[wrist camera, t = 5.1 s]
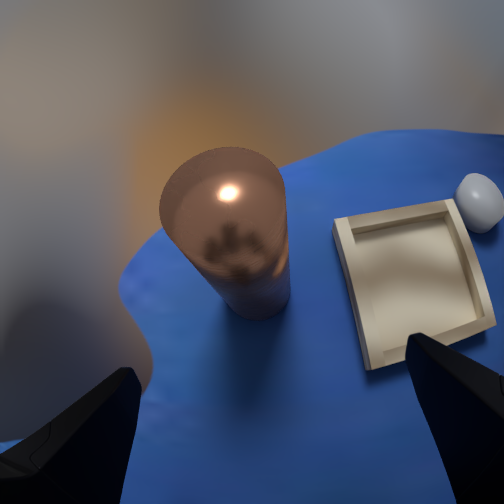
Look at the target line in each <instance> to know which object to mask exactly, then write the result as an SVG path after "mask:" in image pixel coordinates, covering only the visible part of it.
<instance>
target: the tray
mask: <svg viewBox="0 0 504 504" xmlns="http://www.w3.org/2000/svg"><path fill="white" fill-rule="evenodd" d="M332 233H333V236H334V240H335V243H336V247H337V250H338V254H339V258H340V261H341V265H342V269H343V273H344V277H345V280H346V284H347V288H348V292H349V297H350V301H351V305H352V309H353V313H354V318H355V322H356V327H357V331H358V336H359V341H360V345H361V350H362V355H363V360H364V365H365V370H373V369H376V368H380V367H383V366H387V365H390V364H394V363H397V362H400V361H403V360H405V351H406V346H407V340H408V336H409V335H410V334H414V333H418V332H421V333H423V334H425V335H427V336H429V337H431V338H433V339H435V340H436V341H438V342H440V343H442V344H444V345H446V346H447V345H449V344H452V343H455V342H457V341H460V340H462V339H465V338H467V337H470V336H472V335H474V334H477V333H479V332H481V331H484V330H486V329H488V328H490V327H493V326H495V325H497V324H496V320H495V316H494V312H493V308H492V304H491V301H490V297H489V294H488V290H487V287H486V283H485V280H484V277H483V274H482V271H481V268H480V265H479V262H478V259H477V256H476V254H475V251H474V248H473V245H472V243H471V240H470V238H469V235H468V233H467V230H466V228H465V225H464V223H463V220H462V218H461V216H460V213H459V211H458V209H457V207H456V204H455V202H454V200H453V199H448V200H442V201H436V202H430V203H424V204H418V205H412V206H406V207H400V208H394V209H389V210H383V211H377V212H372V213H366V214H360V215H355V216H349V217H344V218H338V219H334V223H333V227H332Z"/></svg>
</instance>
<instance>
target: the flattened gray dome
mask: <svg viewBox="0 0 504 504" xmlns="http://www.w3.org/2000/svg"><path fill="white" fill-rule="evenodd" d="M453 200H454V202H455V204H456V207H457V209H458V211H459V213H460V216H461V218H462V220H463V223H464V225H465V227H466V228H468V229H469V230H471V231H473V232H475V233H486V232H488V231H489V230H490V229H491V228H492V227H493V226H494V225H495V224H496V223H497V222H498V221H499V220H501V219H502V217H503V215H504V199H503V196H502V194H501V192H500V190H499V189H498V188H497V186H496V185H495V184H494V183H493V182H492V181H491V180H490V179H488V178H487V177H485V176H483V175H481V174H477V173H472V174H469V175H467V176H466V177H465V178H464V180H463V181H462V183H461V184H460V185H459V187H458V188H457V190H456V191H455V193H454V195H453Z"/></svg>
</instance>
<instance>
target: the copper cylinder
mask: <svg viewBox="0 0 504 504" xmlns="http://www.w3.org/2000/svg"><path fill="white" fill-rule="evenodd" d="M159 212H160V219H161V223H162V226H163V228H164V230H165V232H166V234H167V235H168V236H169V238H170V239H171V240H172V241H173V242H174V244H175V245H176V246H177V247H178V248H179V249H180V251H181V252H182V253H183V254H184V255H185V256H186V258H187V259H188V260H189V261H190V262H191V263H192V264H193V266H194V267H195V268H196V269H197V270H198V271H199V273H200V274H201V275H202V276H203V277H204V278H205V279H206V280H207V282H208V283H209V284H210V285H211V286H212V287H213V288H214V289H215V291H216V292H217V293H218V294H219V295H220V296H221V297H222V298H223V300H224V301H225V302H226V303H227V304H228V305H229V306H230V307H231V308H232V309H233V311H234V312H235V313H237V314H238V315H239V316H241V317H243V318H245V319H249V320H254V321H259V320H265V319H269V318H271V317H273V316H275V315H276V314H278V313H279V312H280V311H281V310H282V309H283V308H284V306H285V305H286V303H287V301H288V299H289V295H290V269H289V248H288V229H287V212H286V196H285V186H284V182H283V179H282V176H281V174H280V172H279V170H278V169H277V168H276V167H275V165H274V164H273V163H272V162H271V161H270V160H269V159H267V158H266V157H265V156H263V155H261V154H259V153H257V152H255V151H252V150H249V149H245V148H239V147H222V148H216V149H212V150H208V151H205V152H203V153H200V154H198V155H196V156H194V157H192V158H191V159H190V160H188V161H186V162H185V163H184V164H183V165H181V166H180V167H179V168H178V169H177V170H176V171H175V172H174V173H173V175H172V176H171V177H170V179H169V180H168V182H167V183H166V186H165V187H164V190H163V192H162V195H161V199H160V206H159Z"/></svg>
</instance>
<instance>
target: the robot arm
mask: <svg viewBox="0 0 504 504" xmlns="http://www.w3.org/2000/svg"><path fill="white" fill-rule="evenodd" d="M405 360H406V364H407V367H408V370H409V373H410V376H411V379H412V382H413V386H414V389H415V392H416V395H417V398H418V401H419V403H420V406H421V408H422V410H423V413H424V415H425V418H426V420H427V422H428V425H429V427H430V430H431V432H432V435H433V437H434V440H435V443H436V445H437V448H438V450H439V453H440V456H441V458H442V461H443V464H444V467H445V469H446V472H447V475H448V478H449V481H450V484H451V487H452V490H453V493H454V496H455V499H457V500H456V503H457V504H504V376H502V375H500V376H499V374H498V373H496V372H494V371H493V370H491V369H489V368H487V367H485V366H483V365H481V364H480V363H478V362H476V361H474V360H472V359H470V358H468V357H467V356H465V355H463V354H461V353H459V352H457V351H455V350H453V349H452V348H450V347H448V346H446V345H444V344H442V343H440V342H438V341H436V340H435V339H433V338H431V337H429V336H427V335H425V334H423V333H421V332H418V333H414V334H410V335H409V336H408V340H407V346H406V351H405ZM141 392H142V387H141V384H140V382H139V380H138V378H137V376H136V374H135V372H134V370H133V369H132V368H131V367H121V368H119V369H118V370H116V371H115V372H114V373H112V374H111V375H110V376H108V377H107V378H106V379H104V380H103V381H102V382H101V383H99V384H98V385H97V386H95V387H94V388H93V389H92V390H91V391H89V392H88V393H86V394H85V395H84V396H82V397H81V398H80V399H78V400H77V401H76V402H75V403H73V404H72V405H71V406H69V407H68V408H67V409H65V410H64V411H63V412H61V413H60V414H59V415H57V416H56V417H55V418H54V419H52V420H51V421H50V422H48V423H47V424H46V425H45V426H43V427H42V428H40V429H39V430H37V431H36V432H35V433H33V434H32V435H30V436H29V437H27V438H26V439H24V440H22V441H21V442H19V443H18V444H16V445H14V446H13V447H11V448H9V449H8V450H6V451H5V452H3V453H1V454H0V504H120V499H121V494H122V489H123V484H124V479H125V475H126V470H127V466H128V461H129V457H130V453H131V448H132V444H133V440H134V436H135V432H136V427H137V421H138V413H139V406H140V399H141Z"/></svg>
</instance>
